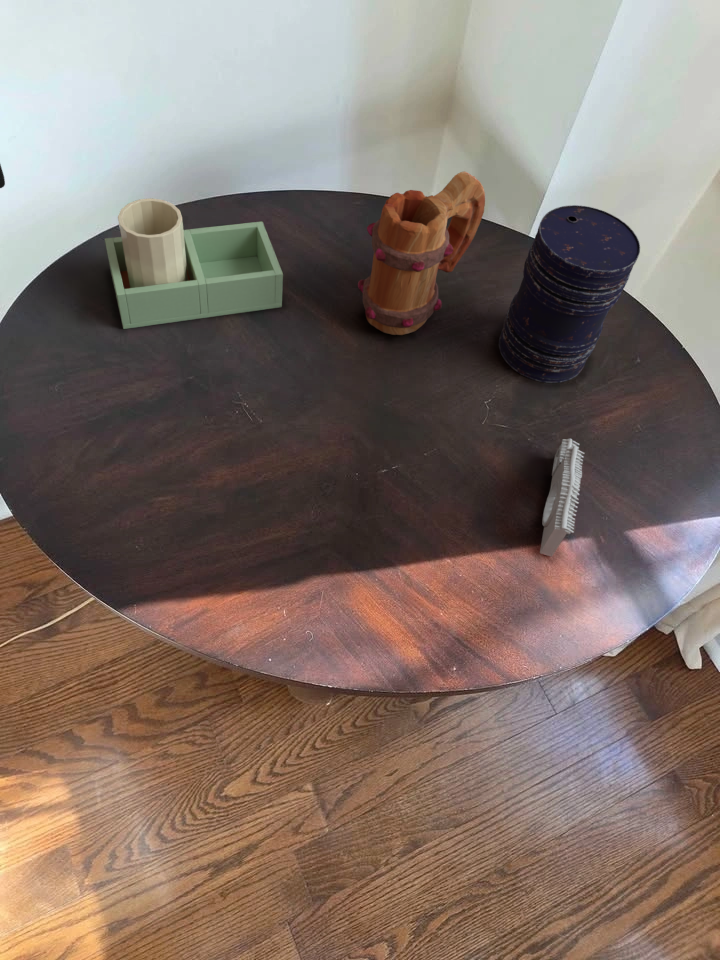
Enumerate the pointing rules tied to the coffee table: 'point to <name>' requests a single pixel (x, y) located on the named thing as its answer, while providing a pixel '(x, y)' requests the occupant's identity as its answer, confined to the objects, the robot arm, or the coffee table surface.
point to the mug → (418, 252)
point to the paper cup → (153, 242)
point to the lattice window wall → (562, 496)
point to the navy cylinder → (567, 292)
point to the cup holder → (204, 278)
